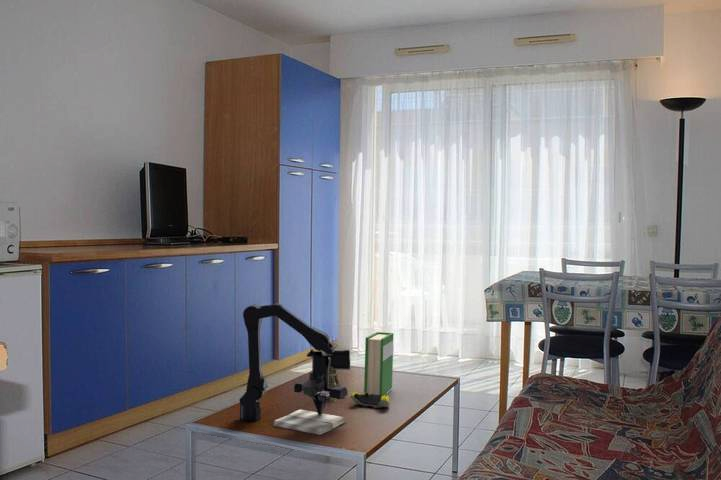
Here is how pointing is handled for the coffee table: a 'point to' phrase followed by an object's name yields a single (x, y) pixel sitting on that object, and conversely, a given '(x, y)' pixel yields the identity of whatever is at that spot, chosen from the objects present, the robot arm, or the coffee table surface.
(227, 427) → the coffee table surface
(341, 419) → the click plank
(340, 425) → the underlay mat
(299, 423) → the plank
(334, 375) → the eiffel tower
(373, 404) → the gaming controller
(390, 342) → the hardback book
